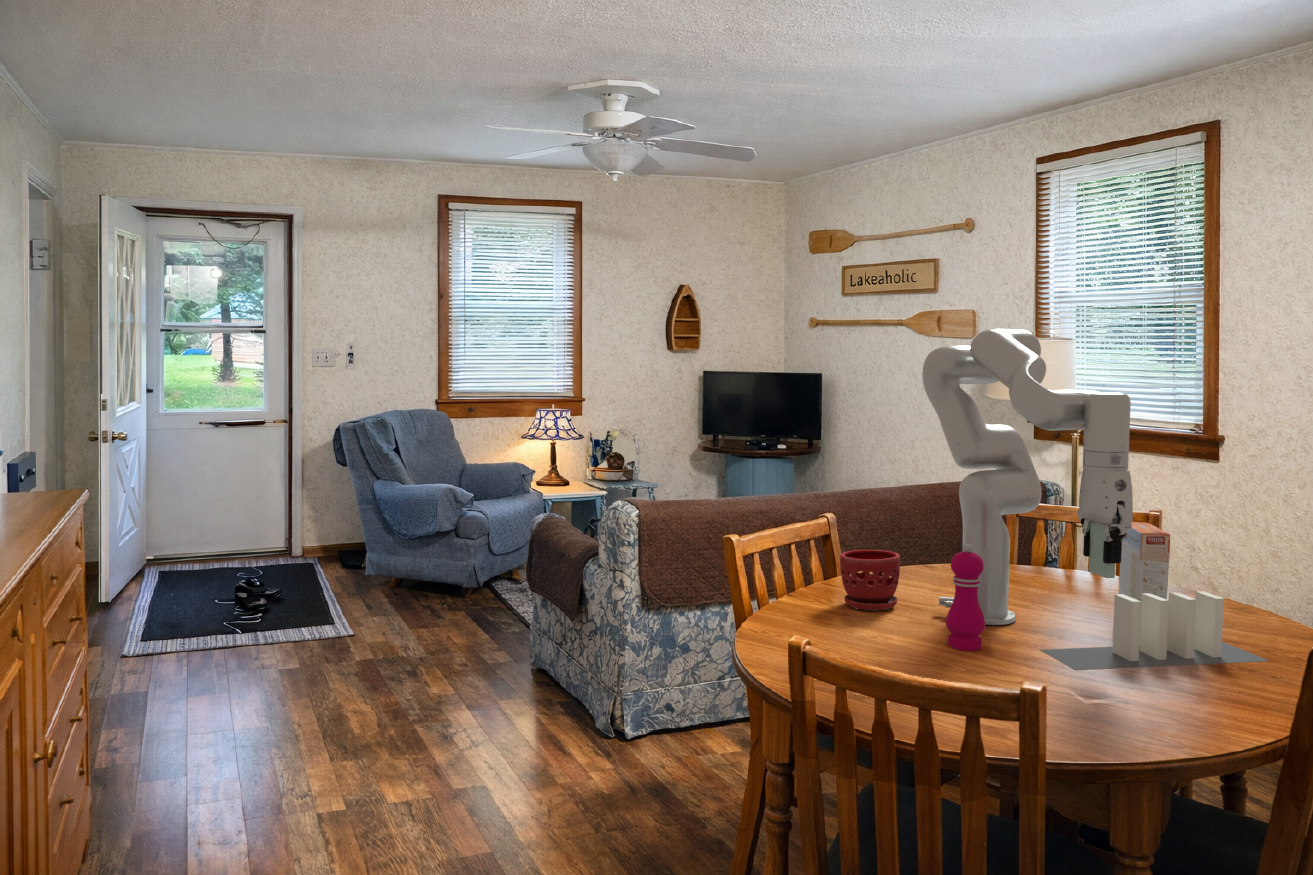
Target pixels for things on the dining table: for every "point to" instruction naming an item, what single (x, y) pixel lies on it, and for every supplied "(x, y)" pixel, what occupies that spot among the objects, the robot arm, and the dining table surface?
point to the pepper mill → (966, 602)
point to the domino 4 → (1209, 623)
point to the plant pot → (870, 578)
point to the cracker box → (1144, 561)
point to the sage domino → (1099, 551)
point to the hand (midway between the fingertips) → (1101, 558)
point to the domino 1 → (1126, 627)
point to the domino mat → (1143, 658)
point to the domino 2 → (1154, 626)
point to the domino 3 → (1181, 625)
